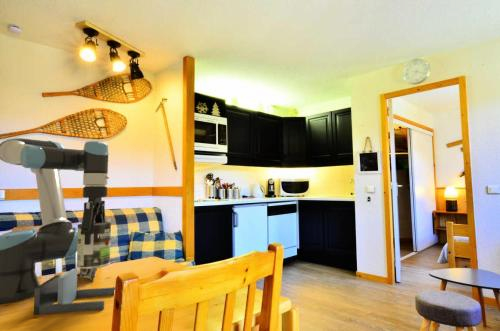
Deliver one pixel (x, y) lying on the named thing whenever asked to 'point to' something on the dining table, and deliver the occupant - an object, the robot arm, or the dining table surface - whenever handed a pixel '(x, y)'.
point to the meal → (88, 273)
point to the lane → (49, 295)
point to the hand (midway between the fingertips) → (93, 250)
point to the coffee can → (95, 247)
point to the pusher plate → (67, 287)
